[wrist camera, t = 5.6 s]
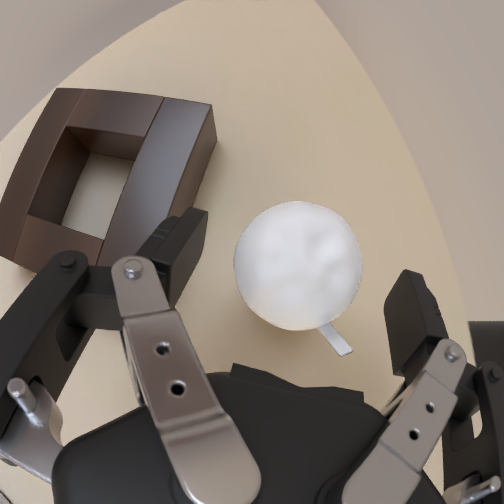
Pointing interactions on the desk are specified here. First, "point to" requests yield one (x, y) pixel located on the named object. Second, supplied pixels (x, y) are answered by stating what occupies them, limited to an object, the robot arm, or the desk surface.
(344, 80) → the desk surface
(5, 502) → the mechanical component
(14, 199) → the socket block
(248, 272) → the milkshake
